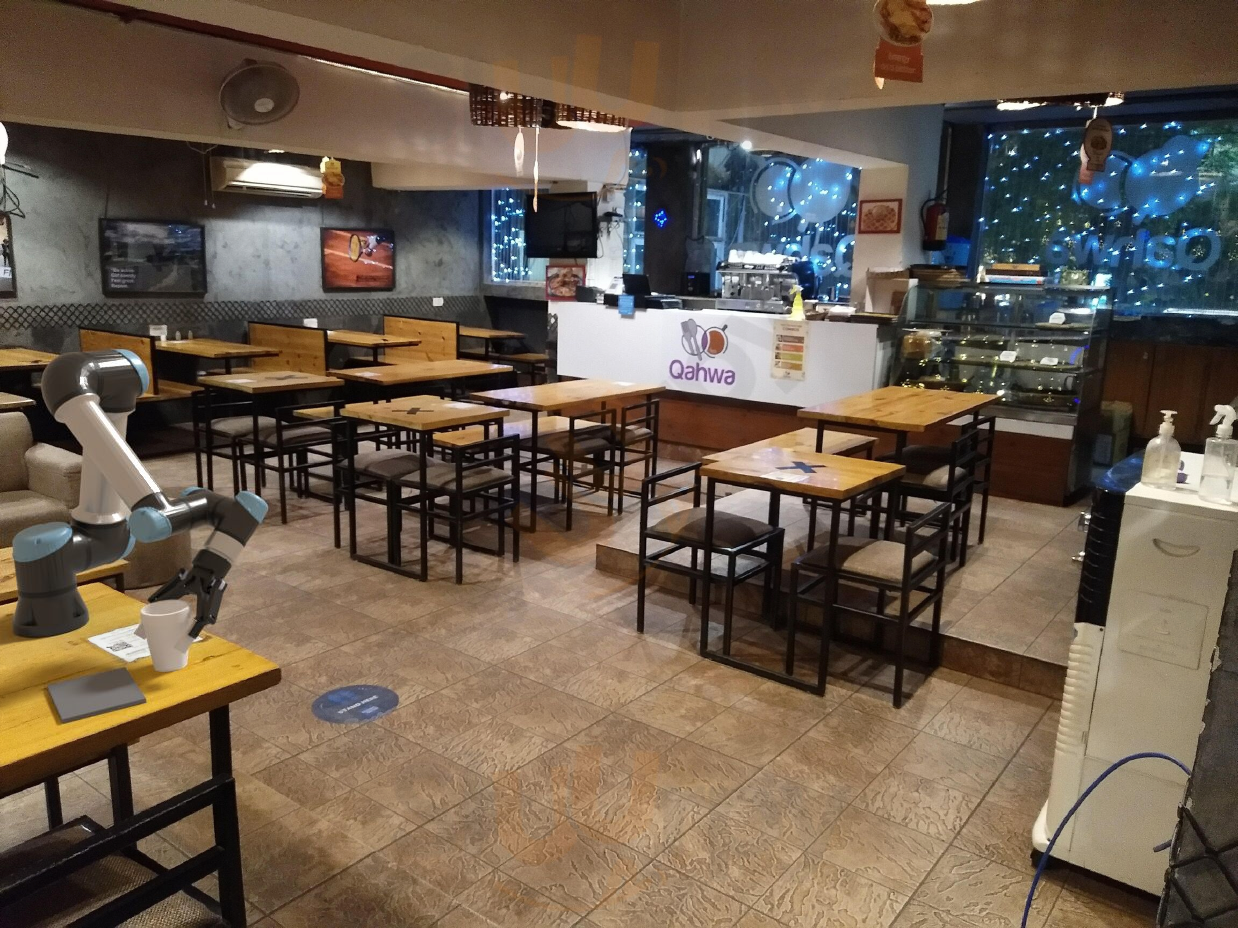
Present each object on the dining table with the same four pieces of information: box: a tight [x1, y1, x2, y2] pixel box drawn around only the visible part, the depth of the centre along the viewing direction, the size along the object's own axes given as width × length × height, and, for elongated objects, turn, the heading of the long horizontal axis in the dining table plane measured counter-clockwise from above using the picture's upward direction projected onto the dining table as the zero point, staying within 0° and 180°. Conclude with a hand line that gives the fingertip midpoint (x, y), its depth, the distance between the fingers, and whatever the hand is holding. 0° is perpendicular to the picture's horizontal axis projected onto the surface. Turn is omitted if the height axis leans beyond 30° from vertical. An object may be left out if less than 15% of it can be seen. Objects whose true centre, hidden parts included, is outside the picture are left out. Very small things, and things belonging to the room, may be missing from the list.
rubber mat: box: [46, 666, 147, 724], centre depth 177 cm, size 18×14×1 cm
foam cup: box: [139, 599, 192, 673], centre depth 190 cm, size 10×9×13 cm
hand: (158, 643), depth 188 cm, fingers open, 13 cm apart
